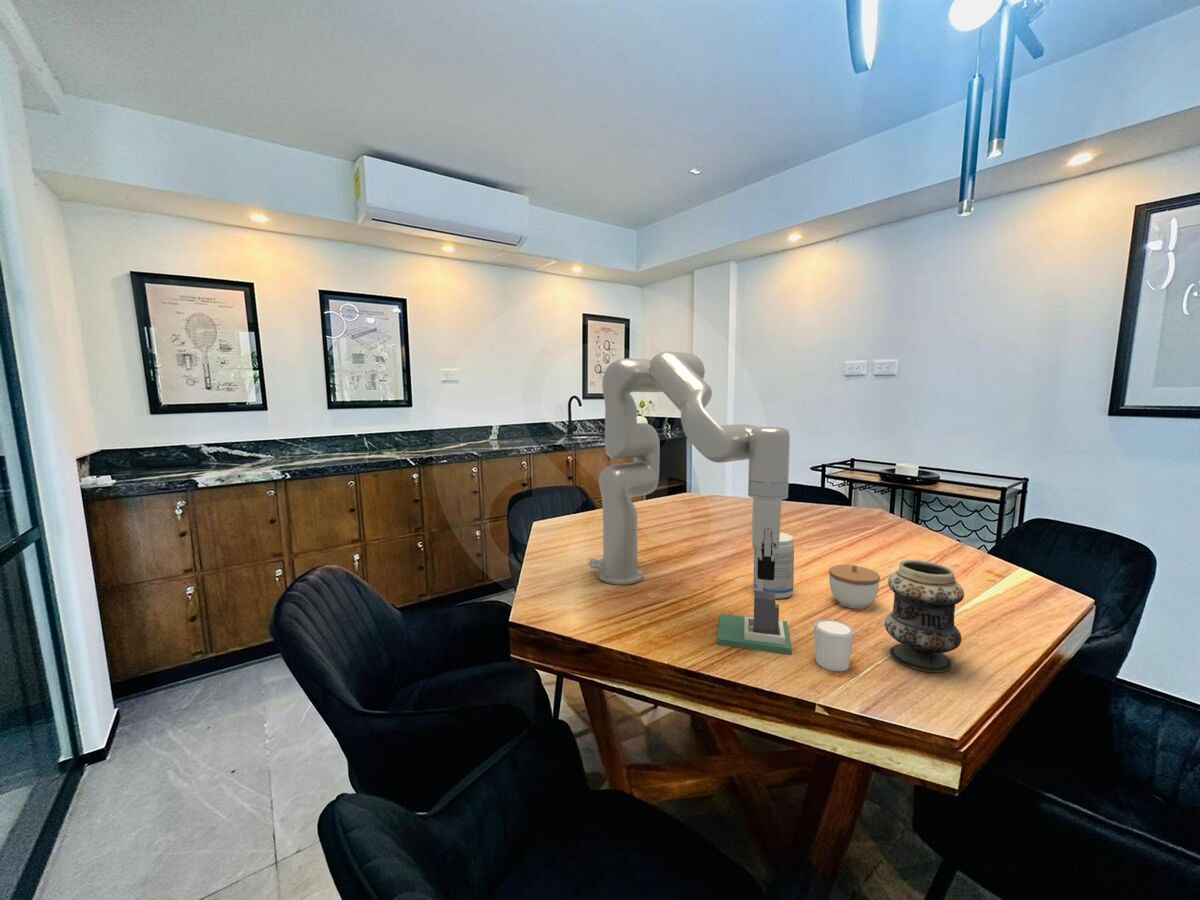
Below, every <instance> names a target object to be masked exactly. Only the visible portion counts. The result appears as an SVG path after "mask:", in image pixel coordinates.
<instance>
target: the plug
mask: <svg viewBox="0 0 1200 900" xmlns="http://www.w3.org/2000/svg"><path fill="white" fill-rule="evenodd" d="M753 593H754V594H753V595H754V598H753V617H754V625H753V632H756V633H764V634H772V635H778V628H779V620H780V619H779V618H780V605H779V604H778V603H776V598H775V593H773V592H764V591H755V590H754V592H753Z"/></svg>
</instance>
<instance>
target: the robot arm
mask: <svg viewBox="0 0 1200 900" xmlns="http://www.w3.org/2000/svg"><path fill="white" fill-rule="evenodd" d="M704 377H705V366H704V363H703V361H702V360H701V359H700V358H699V356H698V355H695V354H694V353H689V352H680V351H677V352H676V351H664V352H660V353H657V354H655V355H654V356H653V357H652V358H651V359H645V358H630V357H629V358H628V357H627V358H619V359H617V360H614V361H612V362H611V363H609V365H607V367H606V369H605V371H604V373H603V377H602V384H601V385H602V388H601V389H602V394H603V400H604V401H603V402H604V410H605V413H604V414H605V415H604V448H605V451H606V454H607V456H608V457H609V458H611V459H613V460H628V459H629V460H630V459H633V462H624V463H616V464H615V463H614V464H612V465H609V466H607V467H605V468H603V469H602V471H601V472H600V474H599V475H598V476H599V477H598V485H599V486H598V487H599V491H600V496H601V503H602V504H601V505H602V530H603V531H602V544H603V545H602V546H603V550H602V551H603V552H602V553H603V558H600V559H596V558H595V559H594V558H590V559H589V561H588V564H589V565H588V566H589V567H590V568H591V569H598V572H597V578H598V579H599V580H600V581H602V582H604V583H607V584H610V585H611V584H612V585H620V586H623V585H625V586H626V585H631V584H635V583H638V582H640V581H641V580H643V578H644V572H643V570H641V569H640V568H639V567H638V565H639V564H638V563H639V562H638V561H639V559H638V557H639V555H638V554H639V553H638V550H639V548H638V547H639V544H638V543H639V540H638V537H639V536H638V535H639V534H638V532H639V531H638V530H639V529H638V528H639V527H638V525H639V523H638V511H637V508H636V507H635V505H634V503H633V501H632V498H634V497H635V498H636V497H640V496H641V497H642V496H647V495H650V494H651V493H653V492H654V491H655V490H656V489H657V488H658V485H659V478H660V449H661V448H660V446H661V443H660V442H661V441H660V437H659V433H658V432H657V430H656V429H655V427H654V426H652V425H651V424H649V423H644V422H640V423H638V419H637V417H638V410H637V404H636V402H635V400H634V398H633V396H632V394H631V393H663V394H664V395H665V396H666V397H667V398H668V400H670V401H671V402H672V404H674V406H675V407H676V408H677V409H678V410H679V411H680V422H681V426H682V430H683V433H684V435H685V436H686V438H687V439H688V441H689V442H690V443H691V444H692V445H693V447H694V448H695V449H696V450H697V451H698V452H699V453H700V454H701V455H702V456H703V457H704V458H706V459H707V460H708V461H710V462H713V463H717V464H718V463H720V464H721V463H722V464H723V463H729V462H736V461H738V462H739V461H744V460H748V483H747V484H748V487H747V488H748V489H747V492H748V493H747V495H748V497H749V498H752V499H753V501H752V517H751V546H752V547H753V549H754V548H756V547H759V557H758V569H757V577H758V579H762V580H774V572H775V559H774V548H775V550H776V549H778V547H779V538H780V533H781V525H782V523H781V521H782V501H783V500H787V499H788V498H789V474H790V473H789V471H790V469H789V467H790V441H791V439H790V437H791V436H790V435H791V434H790V432H789V430H788V429H787V428H785V427H781V426H757V425H753V424H752V425H751V424H747V423H746V424H743V423H742V424H724V425H721V424H719V423H718V422H717V421H716V420H715V419H714V418H713V417H712V415H710V414H709V412H707V410H706V406H707V405H708V404H709V403H710V401H711V398H712V394H713V390H712V387H711V386H710V385H709V384H708V383H707V382H706V381H705V380H704Z"/></svg>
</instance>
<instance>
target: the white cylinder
mask: <svg viewBox="0 0 1200 900" xmlns="http://www.w3.org/2000/svg"><path fill="white" fill-rule="evenodd" d="M813 634H814V652H815V662H816V663H817V665H819V666H820V667H821V668H824V669H827V670H829V671H834V672H843V671H847V670H849V668H850V665H851V664H850V663H851V656H852V650H853V643H854V638H855V637H854V636H855V629H854V628H853V627H852V625H849V624H847V623H845V622H842V621H840V620H836V619H827V618H826V619H825V618H823V619H819V620H818V619H817V620H816V621H814V623H813Z"/></svg>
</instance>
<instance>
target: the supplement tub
mask: <svg viewBox="0 0 1200 900" xmlns="http://www.w3.org/2000/svg"><path fill="white" fill-rule="evenodd" d="M794 540H795V539H794V536H792V535H791V534H788V533H786V532H780V538H779V547H778V549H776V550H775V548H774V559H775V572H774V580H762V579H758V577H757V569H758V557H759V547H756V548H754V547H753V589H754V590H755V591H764V592H773V593H775V600H776V599H778V600H779V599H786V598H789V597H791V596H792V595H793V593H794V580H795V579H794V573H795V571H794V570H795V569H794V568H795V544H794V542H795V541H794Z"/></svg>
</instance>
